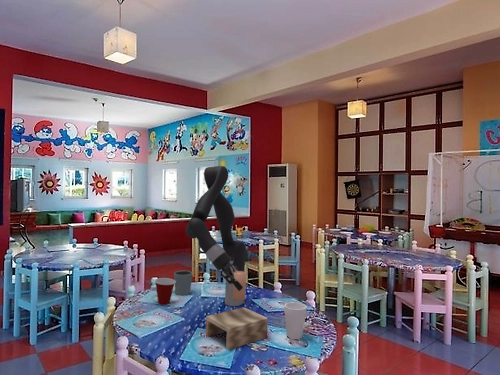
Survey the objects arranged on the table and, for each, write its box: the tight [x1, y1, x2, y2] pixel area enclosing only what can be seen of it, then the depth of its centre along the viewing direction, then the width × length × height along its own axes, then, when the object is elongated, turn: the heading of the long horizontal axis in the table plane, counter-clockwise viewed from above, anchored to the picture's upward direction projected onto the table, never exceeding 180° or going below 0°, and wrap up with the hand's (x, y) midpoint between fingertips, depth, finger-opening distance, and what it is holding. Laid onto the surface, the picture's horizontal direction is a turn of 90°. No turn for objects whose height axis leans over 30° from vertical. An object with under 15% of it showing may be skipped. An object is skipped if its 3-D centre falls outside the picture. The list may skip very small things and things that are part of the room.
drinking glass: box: [173, 270, 193, 296], centre depth 204 cm, size 10×10×12 cm
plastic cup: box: [154, 277, 176, 306], centre depth 187 cm, size 11×11×12 cm
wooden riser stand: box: [205, 307, 269, 351], centre depth 149 cm, size 20×16×8 cm
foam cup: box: [283, 301, 308, 340], centre depth 151 cm, size 10×9×13 cm
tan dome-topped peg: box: [233, 270, 247, 301], centre depth 152 cm, size 5×5×11 cm
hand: (243, 287), depth 152 cm, fingers closed on tan dome-topped peg, 5 cm apart
